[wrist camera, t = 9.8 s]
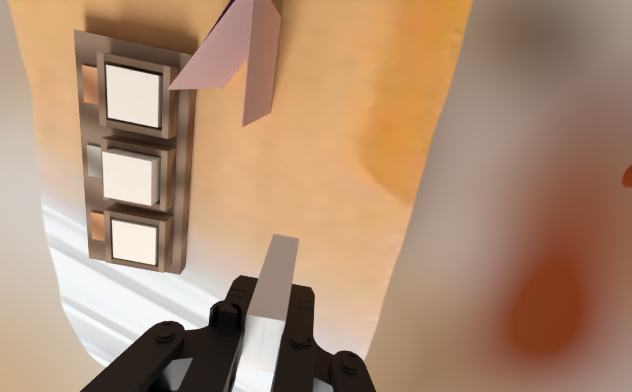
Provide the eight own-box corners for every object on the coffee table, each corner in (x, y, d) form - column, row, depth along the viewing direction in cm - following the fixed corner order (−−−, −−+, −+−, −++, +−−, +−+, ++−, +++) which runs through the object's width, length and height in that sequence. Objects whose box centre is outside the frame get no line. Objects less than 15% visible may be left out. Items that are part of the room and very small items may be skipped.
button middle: (114, 147, 39) (102, 151, 37) (161, 157, 39) (151, 161, 37) (116, 190, 41) (104, 196, 39) (160, 199, 41) (151, 205, 39)
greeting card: (276, 11, 37) (246, -36, 23) (319, 58, 38) (317, 42, 24) (217, 83, 40) (158, 81, 25) (260, 124, 41) (227, 143, 27)
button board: (86, 32, 38) (56, 25, 34) (197, 56, 38) (182, 52, 34) (98, 251, 49) (76, 267, 45) (185, 267, 49) (172, 284, 45)
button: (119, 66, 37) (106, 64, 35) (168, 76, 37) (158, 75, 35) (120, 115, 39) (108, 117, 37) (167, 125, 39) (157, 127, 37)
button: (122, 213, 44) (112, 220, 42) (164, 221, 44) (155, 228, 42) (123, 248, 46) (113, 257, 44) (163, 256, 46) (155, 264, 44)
